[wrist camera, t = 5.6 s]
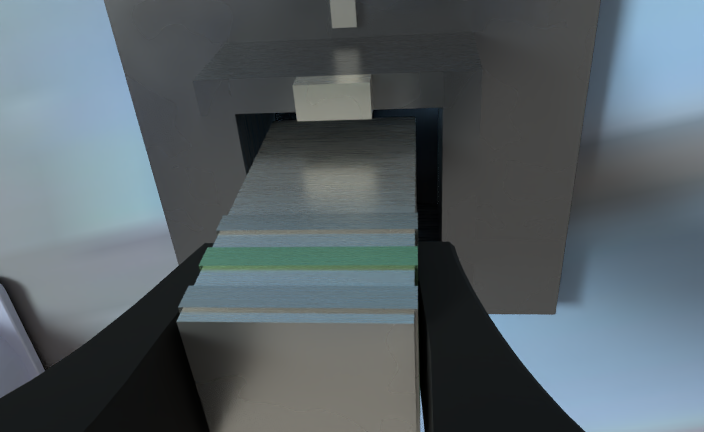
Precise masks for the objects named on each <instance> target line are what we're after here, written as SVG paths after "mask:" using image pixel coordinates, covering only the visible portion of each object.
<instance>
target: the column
mask: <svg viewBox="0 0 704 432" xmlns="http://www.w3.org/2000/svg"><path fill="white" fill-rule="evenodd" d="M216 233H217V238H216V241H215V243H214V245H213V247H208V248H207V250H206V252H205V254H204V256H203V258H202V260H201V262H200V264H199V269H200V274H199V276H198V278H197V280H196V282H195V284H194V286H188V288H187V290H186V292H185V294H184V296H183V298H182V300H181V302H180V304H179V306H178V309H179V312H180V315H179V317H178V319H177V321H176V322H177V325H178V328H179V332H180V335H181V338H182V341H183V345H184V348H185V351H186V355H187V358H188V361H189V364H190V368H191V371H192V374H193V377H194V381H195V384H196V387H197V391H198V394H199V397H200V400H201V404H202V407H203V410H204V413H205V417H206V420H207V423H208V427H209V430H210V432H420V361H419V300H418V213H417V174H416V117H386V118H372V119H359V120H325V121H297V120H285V121H273V122H272V124H271V126H270V129H269V131H268V133H267V135H266V137H265V139H264V141H263V143H262V145H261V147H260V149H259V151H258V153H257V155H256V158H255V160H254V162H253V164H252V166H251V168H250V170H249V172H248V174H247V176H246V178H245V180H244V182H243V185H242V187H241V189H240V191H239V193H238V195H237V197H236V199H235V201H234V203H233V205H232V207H231V209H230V212H229V214H228V215H223V217H222V219H221V221H220V223H219V225H218V227H217V229H216Z"/></svg>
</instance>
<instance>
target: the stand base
mask: <svg viewBox="0 0 704 432" xmlns="http://www.w3.org/2000/svg"><path fill="white" fill-rule="evenodd" d="M600 1H601V0H104V3H105V6H106V10H107V13H108V17H109V20H110V24H111V27H112V31H113V34H114V38H115V41H116V45H117V49H118V52H119V56H120V59H121V63H122V66H123V70H124V73H125V77H126V80H127V84H128V87H129V91H130V94H131V98H132V101H133V105H134V109H135V112H136V116H137V119H138V123H139V126H140V130H141V133H142V137H143V140H144V144H145V147H146V151H147V154H148V158H149V161H150V165H151V169H152V172H153V176H154V179H155V183H156V186H157V190H158V193H159V197H160V200H161V204H162V207H163V211H164V214H165V218H166V221H167V225H168V229H169V232H170V236H171V239H172V243H173V246H174V250H175V253H176V257H177V260H178V264H179V265H180V264H181V263H182V262H183V261H185V260H186V259H187V258H188V257H189V256H190V255H191V254H192V253H194V252H195V251H196V250H197V249H198V248H200V247H201V246H202V245H203V244H204V243H215V241H216V238H217V233H216V229H217V227H218V225H219V223H220V221H221V219H222V217H223V215H228V214H229V212H230V209H231V207H232V205H233V203H234V201H235V199H236V197H237V195H238V193H239V191H240V189H241V187H242V185H243V182H244V180H245V178H246V176H247V174H248V172H249V170H250V168H251V166H252V164H253V162H254V160H255V158H256V155H257V153H258V151H259V149H260V147H261V145H262V143H263V141H264V139H265V137H266V135H267V133H268V131H269V129H270V126H271V124H272V122H273V121H276V117H275V113H284V112H296V117H297V121H325V120H359V119H372V115H373V110H379V109H411V108H438V204H417V213H418V242H450V243H451V244H452V245H454V246H455V249H456V252H457V255H458V258H459V261H460V263H461V265H462V268H463V270H464V272H465V274H466V276H467V278H468V280H469V282H470V284H471V286H472V288H473V290H474V291H475V293H476V295H477V297H478V298H479V300H480V302H481V303H482V305H483V307H484V308H485V310H486V312H487V313H488V314H555V313H556V306H557V299H558V292H559V285H560V278H561V271H562V264H563V257H564V251H565V244H566V237H567V230H568V223H569V216H570V209H571V202H572V195H573V188H574V181H575V174H576V167H577V161H578V154H579V147H580V140H581V133H582V126H583V119H584V112H585V105H586V98H587V91H588V84H589V78H590V71H591V64H592V57H593V50H594V43H595V36H596V29H597V22H598V15H599V8H600Z"/></svg>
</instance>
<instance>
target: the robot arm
mask: <svg viewBox="0 0 704 432" xmlns="http://www.w3.org/2000/svg"><path fill="white" fill-rule="evenodd" d="M213 245H214V243H204V244H203V245H202V246H201V247H200V248H198V249H197V250H196V251H195V252H194V253H192V254H191V255H190V256H189V257H188V258H187V259H186V260H185V261H183V262H182V263H181V264H180V265H179V266H178V267H177V268H176V269H174V270H173V271H172V272H171V273H170V274H169V275H168V276H167V277H166V278H164V279H163V280H162V281H161V282H160V283H159V284H158V285H156V286H155V287H154V288H153V289H152V290H151V291H150V292H148V293H147V294H146V295H145V296H144V297H143V298H141V299H140V300H139V301H138V302H137V303H136V304H135V305H133V306H132V307H131V308H130V309H128V310H127V311H126V312H125V313H123V314H122V315H121V316H120V317H118V318H117V319H116V320H115V321H113V322H112V323H111V324H110V325H108V326H107V327H106V328H105V329H103V330H102V331H101V332H99V333H98V334H97V335H96V336H94V337H93V338H92V339H91V340H89V341H88V342H87V343H85V344H84V345H82V346H81V347H80V348H78V349H77V350H75V351H74V352H73V353H71V354H70V355H68V356H67V357H65V358H64V359H62V360H61V361H59V362H58V363H56V364H55V365H53V366H52V367H50V368H49V369H47V370H46V371H45V370H44V368H43V366H42V364H41V362H40V359H39V357H38V355H37V353H36V351H35V349H34V347H33V345H32V343H31V341H30V339H29V337H28V335H27V333H26V331H25V329H24V327H23V325H22V323H21V321H20V319H19V317H18V315H17V313H16V311H15V308H14V306H13V304H12V302H11V300H10V298H9V296H8V294H7V292H6V290H5V288H4V287H3V286H2V285H1V284H0V432H210V430H209V427H208V423H207V420H206V417H205V413H204V410H203V407H202V404H201V400H200V397H199V394H198V391H197V387H196V384H195V381H194V377H193V374H192V371H191V368H190V364H189V361H188V358H187V355H186V351H185V348H184V345H183V341H182V338H181V335H180V332H179V328H178V325H177V322H176V321H177V319H178V317H179V315H180V312H179V309H178V306H179V304H180V302H181V300H182V298H183V296H184V294H185V292H186V290H187V288H188V286H194V284H195V282H196V280H197V278H198V276H199V274H200V269H199V264H200V262H201V260H202V258H203V256H204V254H205V252H206V250H207V248H208V247H213ZM418 300H419V361H420V391H421V401H422V410H423V419H424V429H425V432H585V431H584V430H583V429H582V428H581V427H580V426H579V425H578V424H577V423H576V422H575V421H574V420H573V419H571V418H570V417H569V416H568V415H567V414H566V413H565V412H564V411H563V409H562V408H561V407H560V406H559V405H558V404H557V403H556V402H555V401H554V400H553V398H552V397H551V396H550V395H549V394H548V393H547V392H546V391H545V390H544V389H543V387H542V386H541V385H540V384H539V383H538V381H537V380H536V379H535V378H534V377H533V376H532V374H531V373H530V372H529V371H528V370H527V368H526V367H525V366H524V365H523V363H522V362H521V361H520V359H519V358H518V357H517V355H516V354H515V353H514V351H513V350H512V349H511V347H510V346H509V345H508V343H507V342H506V340H505V339H504V338H503V336H502V335H501V333H500V332H499V330H498V329H497V327H496V326H495V324H494V323H493V321H492V320H491V318H490V317H489V315H488V313H487V312H486V310H485V308H484V307H483V305H482V303H481V302H480V300H479V298H478V297H477V295H476V293H475V291H474V290H473V288H472V286H471V284H470V282H469V280H468V278H467V276H466V274H465V272H464V270H463V268H462V265H461V263H460V261H459V258H458V255H457V252H456V249H455V246H454V245H452V244H451V243H450V242H418Z"/></svg>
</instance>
